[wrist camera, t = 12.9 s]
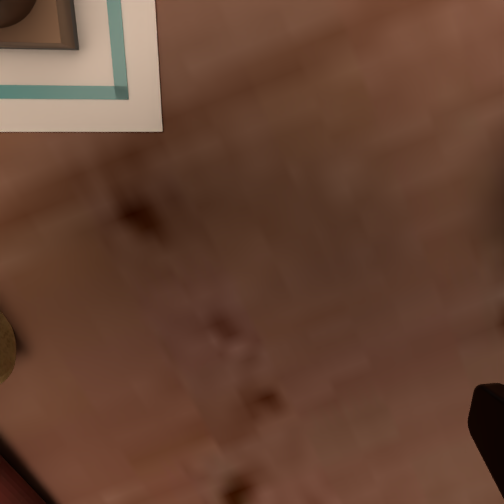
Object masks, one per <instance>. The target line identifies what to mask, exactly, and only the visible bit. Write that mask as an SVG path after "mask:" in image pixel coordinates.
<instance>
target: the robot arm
mask: <svg viewBox="0 0 504 504" xmlns="http://www.w3.org/2000/svg"><path fill="white" fill-rule="evenodd" d="M468 428H469V431H470V434H471V436H472V438H473V440H474V442H475V444H476V446H477V448H478V450H479V452H480V454H481V456H482V458H483V460H484V461H485V463H486V465H487V467H488V469H489V471H490V473H491V475H492V477H493V479H494V481H495V483H496V485H497V487H498V489H499V491H500V493H501V495H502V496H503V498H504V385H503V384H500V383H490V384H480V385H478V386H477V387H476V388H475V389H474V393H473V397H472V402H471V407H470V412H469V416H468Z"/></svg>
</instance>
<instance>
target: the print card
mask: <svg viewBox="0 0 504 504" xmlns="http://www.w3.org/2000/svg"><path fill="white" fill-rule="evenodd" d="M74 8H75V17H76V25H77V34H78V43H79V50H38V49H0V132H163V127H162V110H161V93H160V75H159V58H158V41H157V24H156V7H155V0H74Z"/></svg>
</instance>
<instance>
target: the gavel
mask: <svg viewBox="0 0 504 504" xmlns="http://www.w3.org/2000/svg"><path fill="white" fill-rule="evenodd" d="M15 360H16V342H15V336H14V332H13V329H12V326H11V325H10V323H9V322H8V321H7V319H6V318H5V317H4V315H3V314H2V312H1V311H0V384H1V383H2V382H4V381H5V380H6V379H7V378H8V377H9V375H10V374H11V373H12V370H13V368H14V365H15ZM0 504H47V503H46V502H45V501H44V500H43V499H42V498H41V497H40V496H39V495H38V494H37V493H36V492H35V491H34V490H33V489H32V488H31V487H30V486H29V485H28V483H27V482H26V481H25V480H24V479H23V478H22V477H21V476H20V475H19V474H18V473H17V472H16V471H15V470H14V469H13V468H12V467H11V466H10V465H9V464H8V462H7V461H6V460H5V459H4V458H3V457H2V456H1V455H0Z"/></svg>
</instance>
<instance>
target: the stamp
mask: <svg viewBox="0 0 504 504" xmlns="http://www.w3.org/2000/svg"><path fill="white" fill-rule="evenodd" d="M0 49H38V50H79V43H78V34H77V25H76V17H75V8H74V0H0Z"/></svg>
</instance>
